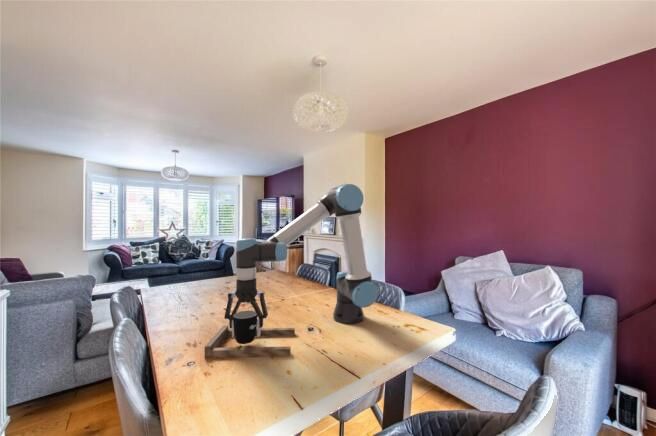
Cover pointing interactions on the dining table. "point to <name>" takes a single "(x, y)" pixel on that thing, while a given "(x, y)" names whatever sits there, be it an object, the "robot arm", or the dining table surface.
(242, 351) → the frame
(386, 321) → the dining table surface
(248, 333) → the mug
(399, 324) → the dining table surface
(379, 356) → the dining table surface
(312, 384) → the dining table surface
